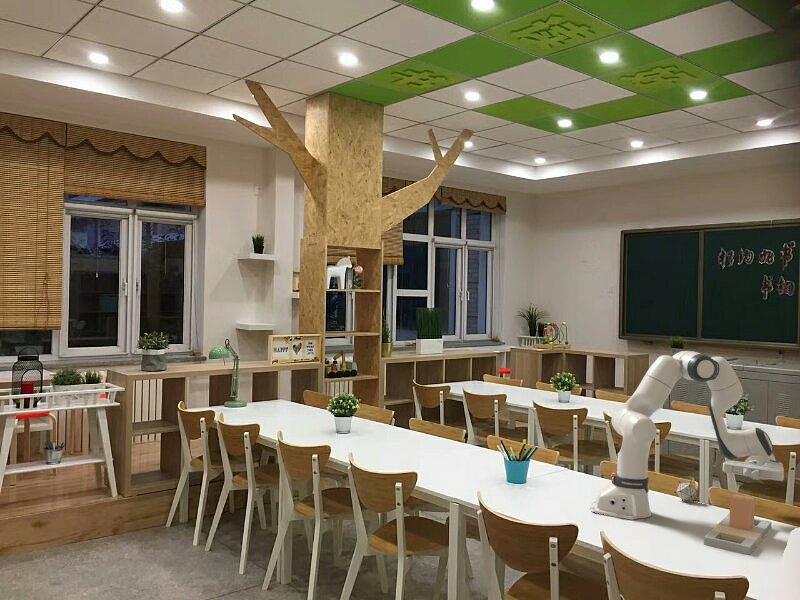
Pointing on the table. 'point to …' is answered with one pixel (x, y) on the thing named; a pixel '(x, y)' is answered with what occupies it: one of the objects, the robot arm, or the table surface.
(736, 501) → the block
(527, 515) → the table surface
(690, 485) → the grey faceted ball
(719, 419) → the robot arm
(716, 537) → the box
